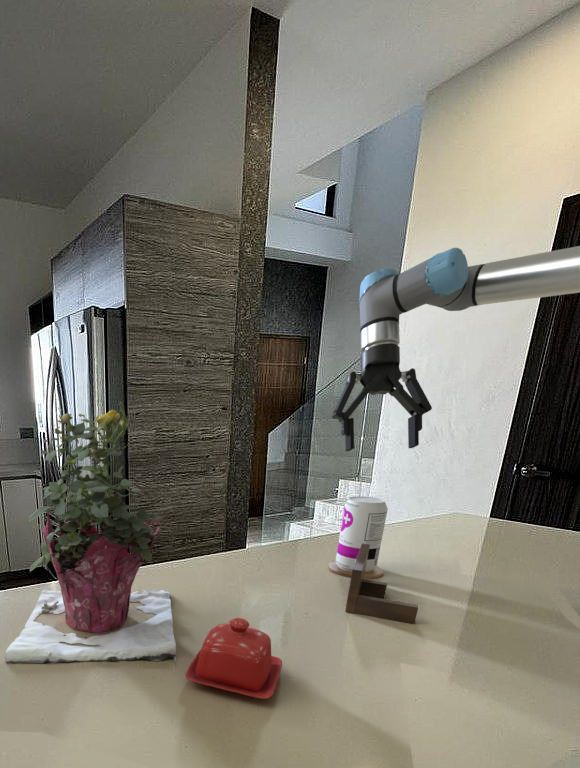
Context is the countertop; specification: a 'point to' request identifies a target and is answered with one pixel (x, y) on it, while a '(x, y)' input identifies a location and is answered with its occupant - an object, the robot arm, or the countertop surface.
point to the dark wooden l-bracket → (374, 595)
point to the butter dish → (237, 661)
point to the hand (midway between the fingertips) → (381, 448)
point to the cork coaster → (368, 575)
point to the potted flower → (95, 562)
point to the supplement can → (361, 531)
